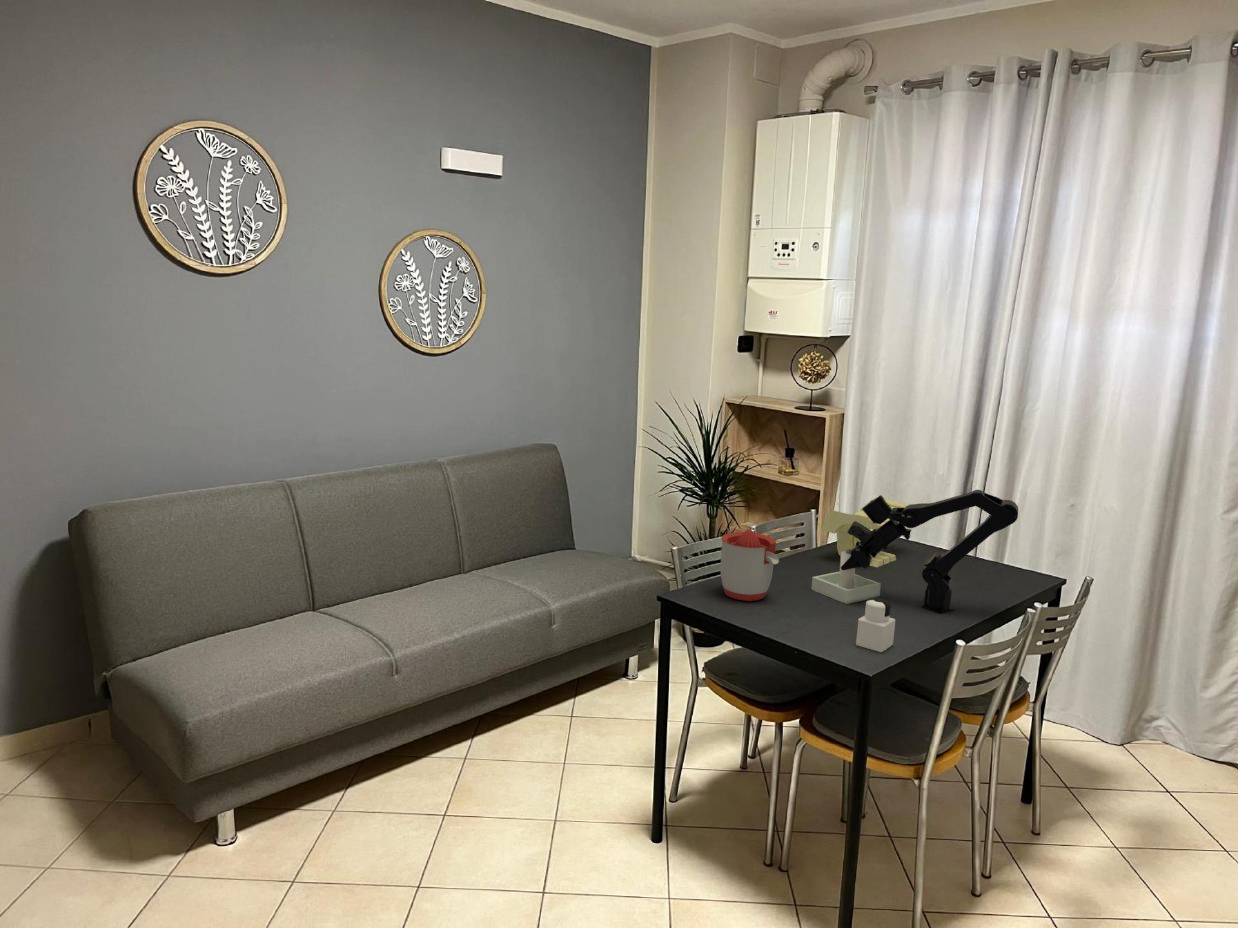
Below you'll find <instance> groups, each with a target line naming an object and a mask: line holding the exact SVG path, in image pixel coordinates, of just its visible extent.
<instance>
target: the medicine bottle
mask: <svg viewBox="0 0 1238 928" xmlns="http://www.w3.org/2000/svg"><path fill="white" fill-rule="evenodd" d="M865 601H866V602H865V610H864V615H862V616H861V617H860V618H858V619H857V625H856V627H857V629H856V638H855V639H856V640H855V645H856V646H858V647H861V648H865V649H868V650H871V651H874V652H878V653H882V652H884V651H886V650H887V649H889V648H890V647H892V646H893V645H894V638H895V628H896V619H895V618H892V617H890V615H891V609H892V608H891V606H892V604H891V603H890V601H888V600H886V599H883V598H879V597H875V598H871V599H867V600H865Z"/></svg>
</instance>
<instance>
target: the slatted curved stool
mask: <svg viewBox="0 0 1238 928" xmlns="http://www.w3.org/2000/svg"><path fill="white" fill-rule="evenodd" d="M874 499H875V498H873V499H871V500H870V501H872V500H874ZM884 499H885V501H886V502H887V504H888V505H889V506H890V507H891V508H892V509H893V508H905V507H906V506H908V505H911V503H906V502H904V501H903V502H901V501H898V500H892V499H887V498H884ZM889 520H890V519H889V518H888V519H887V520H885V521H884V522H883V523H881V524H880V525H879V524H876V523H875V524H874V523H873V522H872V521H871V520H870V518H869V517H868V516H867V515H866V514H865V512H864V511H863V510H862V508H860V510H859V511H857V512H855V513H853V514H850V513H845V512H841V511H837V510H830V511H828V512H827V513H826V514H825V516H824V520H823V528H822V529H823V530H822V531H823V532H827V533H831V534H836V549H837V552H838V553H837V554H838V555H839V556H840V558H841V552H842V551H846V549H852V548H854V547H856V543H857V541H858V542H859V543H860V540H859V539H858V538H856V537H854V536H853V535H850V534H848V533H847V532H848V530H849V528H850V527H851V525H852V523H853V522H854V521H856V522H858V523H860V524H862V525H863V526H865V527H867V528H868V529H869V530H871V531H872V530H874V529H878V528H879V527H881V526H882V525H883V524H885V523H886V522H887V521H889ZM870 556H871V555H870ZM871 557H872V556H871ZM895 561H897V556H896V555H895V554H893V553H889V552H887V551H886V552H885V551H883V550H882V551H881V552H879V553H878V554H877V555H876V557H874V558H873V557H872V562H871V564H870V565H869V566H870V567H873V568H879V567H882V566H883V565H887V564H890V563H891V562H895Z"/></svg>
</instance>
